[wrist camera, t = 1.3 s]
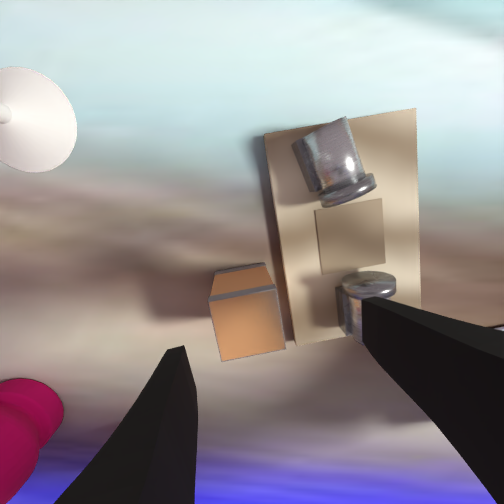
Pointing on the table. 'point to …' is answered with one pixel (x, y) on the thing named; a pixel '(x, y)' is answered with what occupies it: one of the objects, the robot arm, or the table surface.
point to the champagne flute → (34, 121)
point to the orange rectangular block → (245, 312)
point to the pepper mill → (24, 430)
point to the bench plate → (347, 222)
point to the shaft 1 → (333, 164)
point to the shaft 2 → (360, 298)
